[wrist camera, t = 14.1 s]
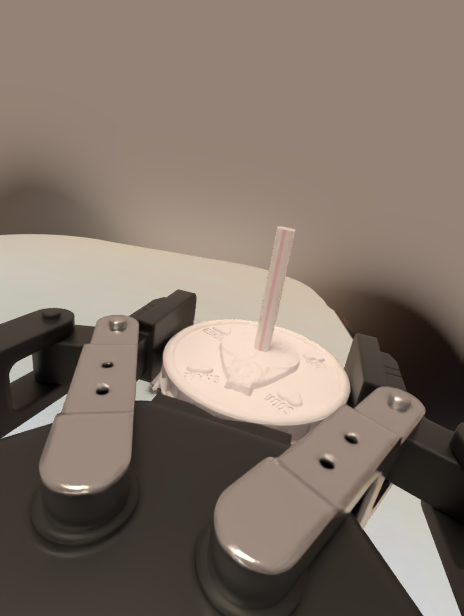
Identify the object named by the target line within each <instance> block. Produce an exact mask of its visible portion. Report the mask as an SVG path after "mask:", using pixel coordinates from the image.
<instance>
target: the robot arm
mask: <svg viewBox="0 0 464 616" xmlns="http://www.w3.org/2000/svg"><path fill="white" fill-rule="evenodd" d="M195 308H196V294H195V293H191V292H187V291H183V290H177V291H175V292H174V293H172V294H171V295H169V296H168V297H166V298H165V297H163V298H159V299H155V300H153V301H151V302H150V303H148V304H147V305H145V306H144V307H142V308H141V309H139V310H137V311H136V312H134V313H133V314H131V315H130V316H124V315H111V316H106V317H103V318H101V319H99V320H98V321H97V323H96V326H95V327H93V326H82V325H75V322H74V314H73V313H72V312H71V311H69V310H66V309H60V308H48V309H42V310H38V311H35V312H32V313H29V314H27V315H24V316H21V317H19V318H16V319H13V320H10V321H8V322H5V323H2V324H0V616H423V615H422V613H421V612H420V610H419V609H418V607H417V606H416V605H415V603H414V602H413V600H412V599H411V597H410V596H409V594H408V593H407V592H406V590H405V589H404V587H403V586H402V584H401V583H400V582H399V580H398V579H397V577H396V576H395V574H394V573H393V572H392V570H391V569H390V567H389V566H388V564H387V563H386V561H385V560H384V559H383V557H382V556H381V554H380V553H379V551H378V550H377V548H376V547H375V546H374V544H373V543H372V541H371V540H370V538H369V537H368V536H367V534H366V533H365V531H364V530H363V529H364V527H365V526H366V524H367V522H368V521H369V519H370V518H371V516H372V515H373V513H374V512H375V510H376V509H377V507H378V506H379V504H380V503H381V501H382V500H383V498H384V497H385V495H386V494H387V492H388V491H389V489H390V488H391V486H392V485H393V484H394V485H396V486H398V487H400V488H401V489H403V490H405V491H407V492H408V493H410V494H412V495H414V496H415V497H417V498H419V499H421V506H422V510H423V512H424V515H425V518H426V520H427V523H428V526H429V529H430V531H431V534H432V537H433V539H434V542H435V545H436V548H437V550H438V553H439V556H440V559H441V561H442V564H443V567H444V569H445V572H446V575H447V578H448V580H449V583H450V586H451V588H452V591H453V594H454V597H455V599H456V602H457V605H458V608H459V610H460V613H461V616H464V422H463V423H460V424H459V425H458V427H457V429H456V431H455V432H453V431H451V430H449V429H446V428H444V427H442V426H440V425H437V424H436V423H434V422H432V421H430V420H428V419H426V418H425V417H424V413H425V408H424V406H423V405H422V403H421V402H420V401H419V400H418V399H417V398H415V397H414V396H412V395H411V394H409V393H407V391H406V388H405V385H404V382H403V379H402V378H401V373H400V371H399V367H398V364H397V362H396V361H395V360H394V359H393V358H392V357H391V356H390V355H389V354H387V353H383V352H380V348H379V345H378V341H377V338H374V337H370V336H366V335H362V334H358V333H356V335H355V337H354V339H353V342H352V345H351V349H350V352H349V355H348V358H347V361H346V364H345V367H344V370H345V372H346V374H347V376H348V379H349V383H350V394H349V397H348V400H347V403H346V404H344V405H342V406H341V407H340V408H338V409H337V410H336V411H335V412H333V413H332V414H331V415H330V416H328V417H327V418H326V419H325V420H323V421H322V422H321V423H320V424H319V425H317V426H316V427H315V428H314V429H312V430H311V431H310V432H309V433H307V434H306V435H305V436H304V437H303V438H301V439H300V440H299V441H298V442H296V443H295V444H294V445H293V446H291V439H292V434H288V433H285V432H282V431H279V430H275V429H272V428H269V427H266V426H263V425H259V424H255V423H247V422H239V421H231V420H224V419H219V418H217V417H215V416H213V415H211V414H209V413H208V412H206V411H204V410H202V409H200V408H198V407H197V406H195V405H193V404H191V403H189V402H186V401H183V400H179V399H176V398H173V397H170V396H167V395H163V394H160V393H158V394H157V395H156V396H155V398H154V399H153V400H152V401H135V395H136V382H137V381H138V380H139V379H140V380H143V381H147V382H150V383H151V382H152V381H153V380H154V379H155V378H156V377H157V376H158V374H159V373H160V372H161V367H162V364H163V353H164V349H165V346H166V344H167V343H168V341H169V340H170V339H171V338H172V337H173V336H174V335H175V334H177V333H178V332H180V331H181V330H183V329H185V328H187V327H189V326H192V325H194V316H195ZM31 354H32V358H33V370H34V371H32V372H30V373H28V374H26V375H24V376H23V377H21V378H19V379H17V380H15V381H13V382H12V383H10V380H9V372H10V370H11V368H12V366H13V365H14V364H15V363H16V362H17V361H19V360H21V359H23V358H25V357H27V356H29V355H31ZM67 393H68V394H67ZM66 394H67V397H66V400H65V403H64V406H63V409H62V411H61V413H60V414H57V415H56V417H55V419H54V421H53V423H51V424H48V425H44V426H41V427H38V428H35V429H31V430H28V431H25V432H22V433H18V434H15V435H12V436H8V437H5V438H2V437H4V436H5V435H7V434H8V433H10V432H11V431H12V430H14V429H15V428H17V427H18V426H20V425H21V424H23V423H24V422H26V421H27V420H29V419H30V418H32V417H33V416H35V415H36V414H38V413H39V412H41V411H42V410H44V409H45V408H46V407H48V406H49V405H51V404H52V403H54V402H55V401H57V400H58V399H60V398H61V397H63V396H64V395H66ZM1 438H2V439H1Z"/></svg>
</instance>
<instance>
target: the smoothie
mask: <svg viewBox="0 0 464 616" xmlns="http://www.w3.org/2000/svg"><path fill="white" fill-rule="evenodd" d="M294 235H295V230H294V229H291V228H287V227H278V228H277V233H276V238H275V243H274V248H273V253H272V258H271V263H270V269H269V273H268V278H267V283H266V288H265V293H264V298H263V303H262V309H261V314H260V319H259V322H255V321H249V320H236V319H228V320H213V321H206V322H202V323H198V324H194V325H192V326H189V327H187V328H185V329H183V330H181V331H180V332H178V333H177V334H175V335H174V336H173V337H172V338H171V339H170V340H169V341H168V343H167V344H166V346H165V349H164V353H163V364H162V367H161V372H160V376H159V383H160V387H161V392H162V394H163V395H167V396H170V397H173V398H176V399H179V400H183V401H186V402H189V403H191V404H193V405H195V406H197V407H198V408H200V409H202V410H204V411H206V412H208V413H209V414H211V415H213V416H215V417H217V418H219V419H224V420H231V421H239V422H247V423H255V424H259V425H263V426H266V427H269V428H272V429H275V430H279V431H282V432H285V433H288V434H292V439H291V446H293V445H294V444H295V443H296V442H298V441H299V440H300V439H301V438H303V437H304V436H305V435H306V434H307V433H309V432H310V431H311V430H312V429H314V428H315V427H316V426H317V425H319V424H320V423H321V422H322V421H323V420H325V419H326V418H327V417H328V416H330V415H331V414H332V413H333V412H335V411H336V410H337V409H338V408H340V407H341V406H342V405H344V404H346V403H347V400H348V397H349V394H350V383H349V379H348V376H347V374H346V372H345V370H344V368H343V367H342V366H341V364H340V363H339V362H338V361H337V359H336V358H335V357H334V356H332V355H331V354H330V353H329V352H328V351H327V350H326V349H324V348H323V347H321V346H320V345H318V344H317V343H315V342H314V341H312V340H310V339H308V338H306V337H304V336H302V335H300V334H297V333H295V332H293V331H290V330H287V329H284V328H281V327H278V326H275V322H276V317H277V313H278V308H279V303H280V299H281V294H282V290H283V285H284V281H285V276H286V271H287V266H288V262H289V258H290V253H291V248H292V244H293V239H294Z"/></svg>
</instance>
